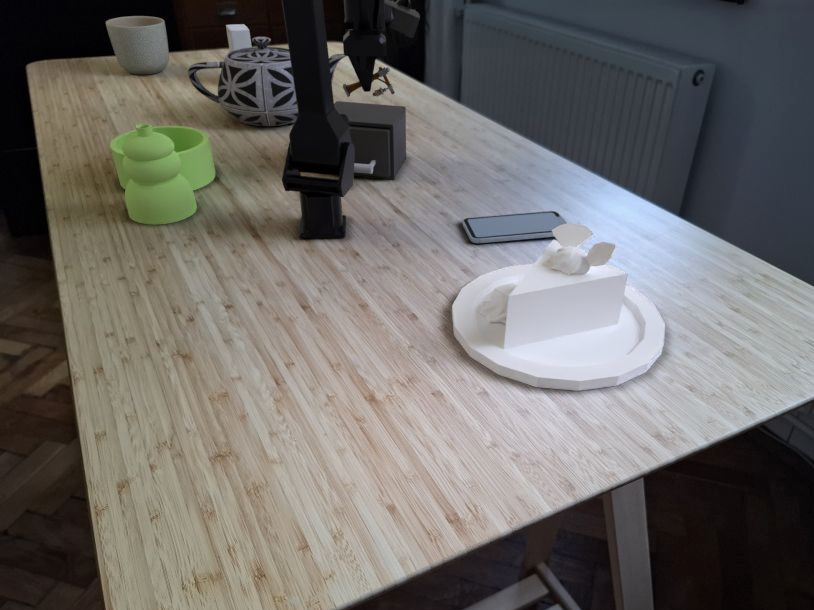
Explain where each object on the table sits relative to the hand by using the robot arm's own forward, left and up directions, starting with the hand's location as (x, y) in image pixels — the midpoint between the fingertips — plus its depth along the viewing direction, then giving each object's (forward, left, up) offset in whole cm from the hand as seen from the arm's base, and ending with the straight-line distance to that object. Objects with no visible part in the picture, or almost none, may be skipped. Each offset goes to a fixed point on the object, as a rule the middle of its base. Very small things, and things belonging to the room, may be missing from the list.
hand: (367, 89), depth 111 cm
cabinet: (+1, +1, -13) cm, 13 cm away
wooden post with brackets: (0, 0, -1) cm, 1 cm away
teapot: (+29, +18, -13) cm, 37 cm away
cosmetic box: (+54, +27, -13) cm, 62 cm away
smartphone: (-25, -21, -13) cm, 35 cm away
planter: (+64, +51, -13) cm, 83 cm away
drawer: (-2, +2, -12) cm, 13 cm away
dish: (-50, -21, -13) cm, 56 cm away
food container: (-8, +32, -13) cm, 36 cm away
